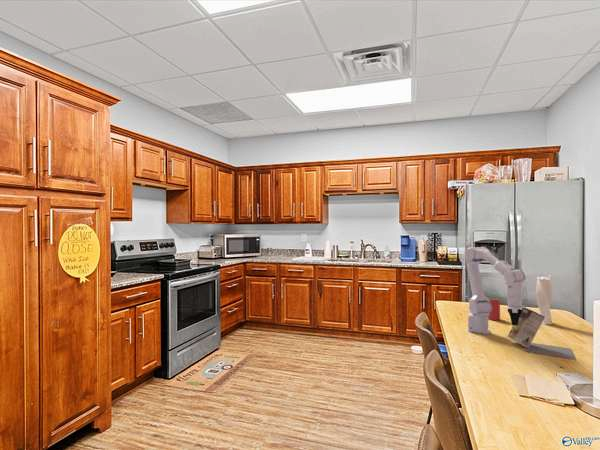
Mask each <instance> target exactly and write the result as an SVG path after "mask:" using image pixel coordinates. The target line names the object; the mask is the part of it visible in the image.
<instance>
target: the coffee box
mask: <svg viewBox="0 0 600 450" xmlns="http://www.w3.org/2000/svg"><path fill="white" fill-rule="evenodd" d="M521 310H522V313H521V315H520V317H519V321H518V325H517V326H516V325H512V327H511V329H510V331H509V333H508V334H507V337H508V338H509V339H511V340H513V341H514V342H515V343H517V344H519V345H522V346H524V347H525V348H526V347H527V348H529V346H530V344H531V343H533V341H534V338H535V336H536V335H537V334H538V331H539V330H540V328H541V325H543V324H542V322H543V320H544V318H545V317H544V316H542V315H540V314H538V312H536V311H534V310H532V309H529V308H526V307H525V308H521Z"/></svg>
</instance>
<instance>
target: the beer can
mask: <svg viewBox="0 0 600 450" xmlns="http://www.w3.org/2000/svg"><path fill="white" fill-rule="evenodd" d="M487 298H488V299H489V302H490V304H491V306H492V311H491V312H490V313H489V315H488V320H492V321H500V320H501V303H500V298H497V297H487Z"/></svg>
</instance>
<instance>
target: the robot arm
mask: <svg viewBox="0 0 600 450" xmlns="http://www.w3.org/2000/svg"><path fill="white" fill-rule="evenodd" d="M464 255H465V256H464V258H465V263H466V268H467V273H468V278H469V282H470V287H471V293H472V297H470V298H469V300H468V302H469V306H468V309H469V311H470V312H469V313H468V315H467V317H468V318H467V320H468V321H467V322H468V324H467V329H468V330H467V331H468V332H470V333H475V334H476V333H478V334H484V335H489V334H490V329H489V319H488V315H489V313H490V312H491V311H492V306H491V304H490V302H489V299H488V298H489V297H487V296H486V295H485V293H484V287H483V283H482V278H481V273H480V269H479V268H480V267H479V265H480V264H481V263H483V261H486V262H488V263H489V264H491V265H492V266H493V267H494V270H496V271H497V272H498V273H499V274H501V275H502V276H503V277H504V280H505V283H506V286H507V294H506V296H507V300H506V301H507V304H506V307H507V312H508V314H509V316H510V323H511V325H512V326H513V325H516V326H517V325H518V321H519V317H520V315H521V313H522V310H521V309H522V308H526V306H525V305H523V282H524V281H525V279H526V274H525V273H524V271H523V270H522V269H520V268H519V269H517V268H515V267H514V266H512V265H510V264H509V263H508V261H507V260H500V259H498V258H497V257H496V256H495V255H493V254H492V253H491V252H490V250H489V248H487V247H485V246H481V247H479V246H478V247H471V246H470V247H467V248H466V250H465V252H464Z"/></svg>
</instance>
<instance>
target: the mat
mask: <svg viewBox="0 0 600 450" xmlns="http://www.w3.org/2000/svg"><path fill="white" fill-rule="evenodd" d="M525 348H526V352H527V353H531V354H536V355H537V354H538V355H544V356H549V357H550V356H551V357H555V358H563V359H569V360H575V361H576V360H577V358H576V355H575V354H574V352H573V350H572V348H569V347H564V346H556V345H549V344H543V343H538V342H537V343H536V342H531V344H530V346H529V348H527V347H525Z"/></svg>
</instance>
